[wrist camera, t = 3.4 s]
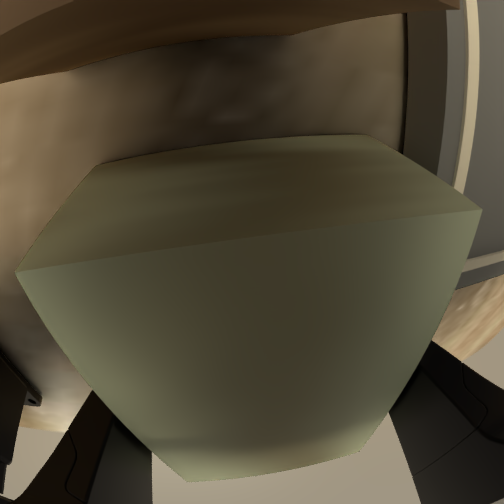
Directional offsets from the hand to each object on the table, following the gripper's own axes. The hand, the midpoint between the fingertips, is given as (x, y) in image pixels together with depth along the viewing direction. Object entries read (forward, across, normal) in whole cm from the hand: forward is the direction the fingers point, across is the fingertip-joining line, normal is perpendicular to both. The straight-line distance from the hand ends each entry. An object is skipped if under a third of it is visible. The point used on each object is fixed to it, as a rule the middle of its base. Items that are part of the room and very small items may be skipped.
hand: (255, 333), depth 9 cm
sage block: (+1, 0, 0) cm, 1 cm away
